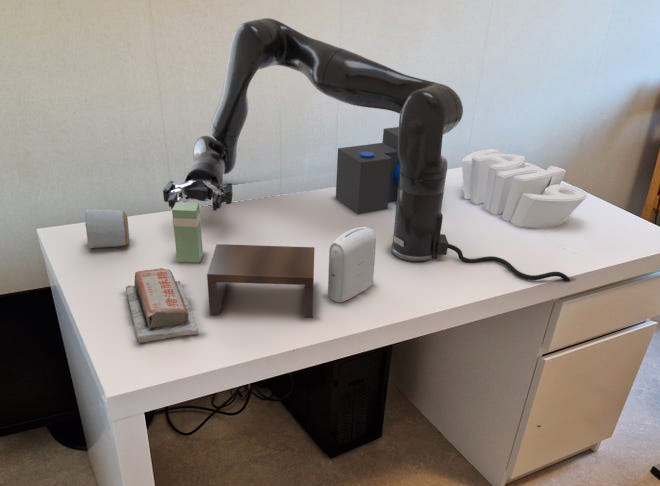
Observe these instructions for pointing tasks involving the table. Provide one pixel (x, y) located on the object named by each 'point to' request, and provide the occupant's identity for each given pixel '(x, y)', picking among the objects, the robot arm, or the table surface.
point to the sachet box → (187, 232)
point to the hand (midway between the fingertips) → (193, 205)
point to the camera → (369, 174)
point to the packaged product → (159, 306)
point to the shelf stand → (260, 270)
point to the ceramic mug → (106, 228)
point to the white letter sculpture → (519, 189)
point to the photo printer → (351, 263)
